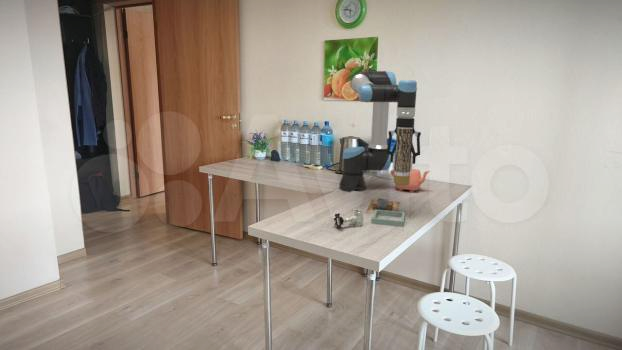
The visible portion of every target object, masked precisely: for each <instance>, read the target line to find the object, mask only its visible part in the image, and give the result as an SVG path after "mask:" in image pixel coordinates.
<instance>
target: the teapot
mask: <svg viewBox="0 0 622 350" xmlns="http://www.w3.org/2000/svg"><path fill="white" fill-rule="evenodd" d="M430 172H431V170H427V171H424V172H423V174H422V173H421V170H420V169H415V168H412V172H410V182H409V184H408V185H397V184H395V183H394V187H395V188H396V189H397V191H400V192H404V190H409V193H415V191H418V190H419V188H420V187H421V185H422V184H423V183H424V182H425V180H426V177H427V174H429V173H430ZM390 174H391V176H392V177H393V178H394V171H392V169H391V170H390ZM421 174H422V175H421Z"/></svg>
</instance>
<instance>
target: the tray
mask: <svg viewBox="0 0 622 350" xmlns="http://www.w3.org/2000/svg"><path fill="white" fill-rule="evenodd" d="M378 216H381V217H382V216H384V217H393V218H400V220H397V219H387V218H379V217H378ZM405 216H406V211H405V212H404V211H398V212H397V211H386V210H376V209H375V212H374V214H372V216H371V220H370V222H371V225H372V224H373V225H383V226H389V227H390V226H392V227H401V228H402V227H404V222H405V218H406V217H405ZM377 217H378V218H377Z"/></svg>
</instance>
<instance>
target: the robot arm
mask: <svg viewBox="0 0 622 350" xmlns="http://www.w3.org/2000/svg"><path fill="white" fill-rule="evenodd" d="M396 78H397V77H396V74H395V73H394V72H393V71H389V70H388V71H387V70H383V71H382V70H380V71H379V70H363V71H360V72H358V73H356V74H354V75H353V76H352V78H351V79H350V82H349V83H350V87H351V89H352V91H353V92H355V93H357V94H358V95H357V96H358V101H359V102H361V103H362V102H363V103H372V118H371V119H372V120H371V134H370V135H371V136H370V137H371V138H370V144H369V145H368V146H367V149H365V147H364V146H353V147H347V148H345V149H344V151H343V155H342V175H341V179H340V182H339V187H338V188H339V189H340V190H342V191H345V192H364V191H365V190H366V189H367V183H366V181H365V177H364V172H365V171H379V172H381V171H387V170H388V169H390V167H391V165H392V169H391V170H392V171H394V168H395V151H396V142H395V143H394V145H393V148H392V149H391V147H392V140H393V136H394V135H395V136H396V135H397V127H412V128H413V131H412V135H413V136H415V137H416V151H417V152H416V151H415V146H414V143H413V142H412V145H411V151H412V153H411V166H410V172H412V169H413V165H414V164H415V165H416V158H417V156H420V155H421V141H420V140H421V139H420V138H421V134H422V133H421V131H416V130H415V115H416V105H417V103H416V102H417V100H416V99H417V91H418V86H417V84H418V82H417V81H416V80H414V79H413V80H410V79H409V80H408V79H407V80H406V79H405V80H404V79H401V80H399V81H398V84H397V79H396ZM390 103H397V107H396V116H397V117H396V122H395V128H394V129H393V130H389V131H388V124H389V114H390V113H389V111H390V110H389V109H390ZM414 134H415V135H414Z"/></svg>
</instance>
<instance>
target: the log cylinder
mask: <svg viewBox="0 0 622 350" xmlns="http://www.w3.org/2000/svg"><path fill="white" fill-rule="evenodd" d="M412 131H413V128H412V127H397V135H396V134H395V136H396V137H395V143H396V150H395V152H394V155H395V168H394V177H393V183H394V185H395V184H397V185H408V184H409V182H410V166H411V156H412V151H411V145H412V143H413V138H414V137H413V136H414V134H413V135H412Z"/></svg>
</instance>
